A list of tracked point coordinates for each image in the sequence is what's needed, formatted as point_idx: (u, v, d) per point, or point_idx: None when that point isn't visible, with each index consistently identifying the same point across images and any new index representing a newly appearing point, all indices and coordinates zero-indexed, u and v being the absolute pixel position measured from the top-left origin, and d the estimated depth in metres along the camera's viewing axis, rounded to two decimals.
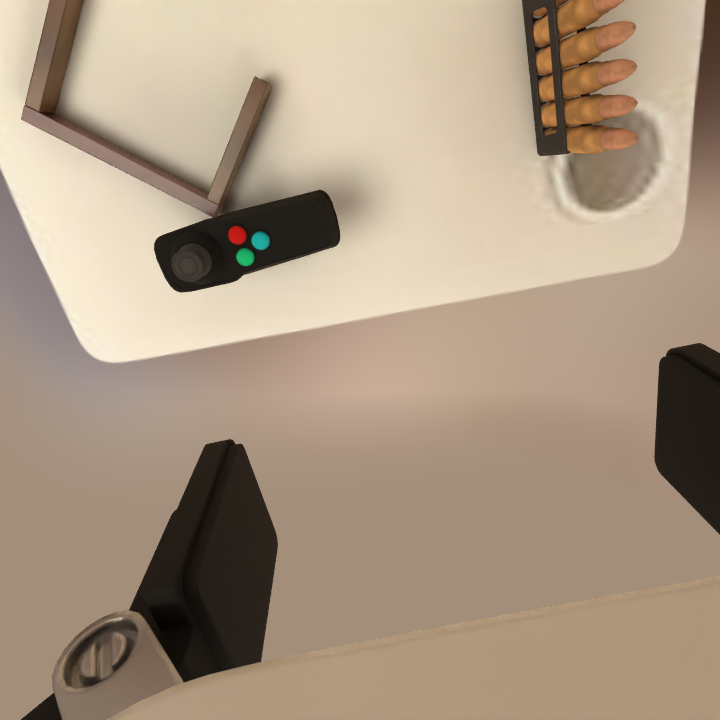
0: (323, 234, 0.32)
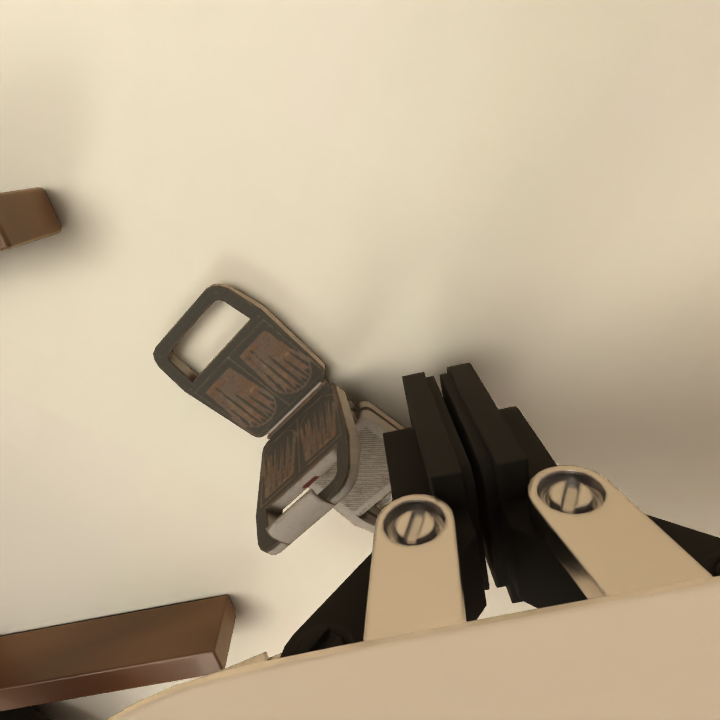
0: None
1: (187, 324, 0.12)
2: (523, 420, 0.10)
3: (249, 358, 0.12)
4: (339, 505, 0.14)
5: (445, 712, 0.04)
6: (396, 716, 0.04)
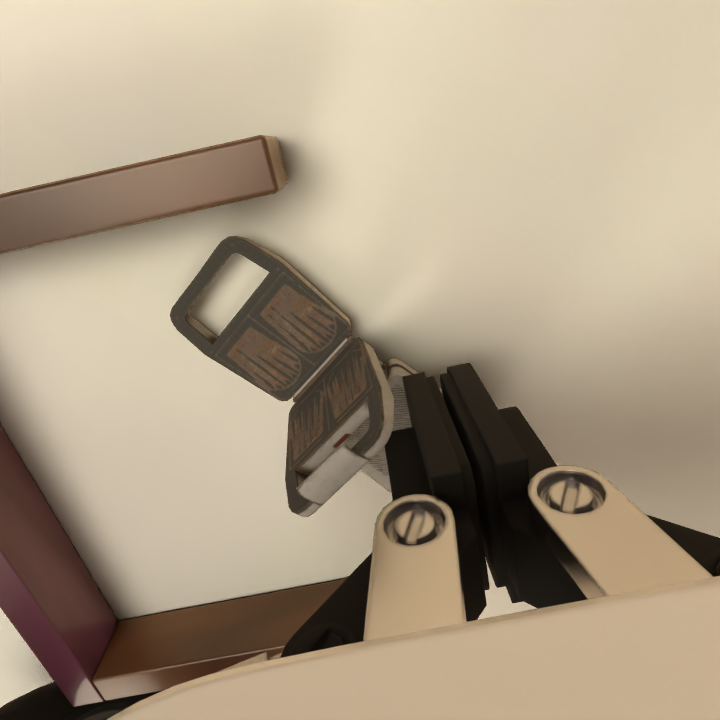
0: None
1: (203, 281, 0.11)
2: (524, 420, 0.10)
3: (270, 315, 0.11)
4: (371, 470, 0.13)
5: (445, 712, 0.04)
6: (396, 716, 0.04)
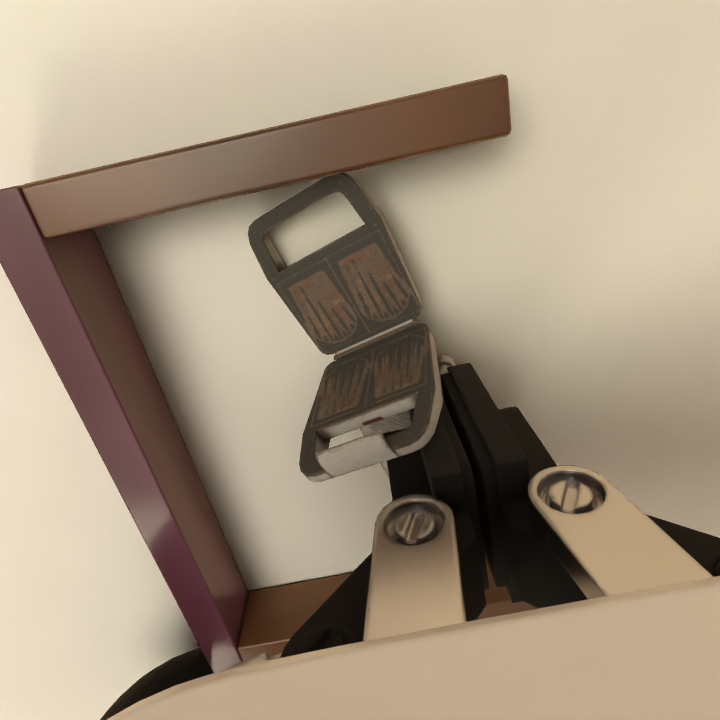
0: None
1: (295, 207, 0.10)
2: (524, 420, 0.10)
3: (347, 267, 0.11)
4: None
5: (445, 712, 0.04)
6: (396, 716, 0.04)
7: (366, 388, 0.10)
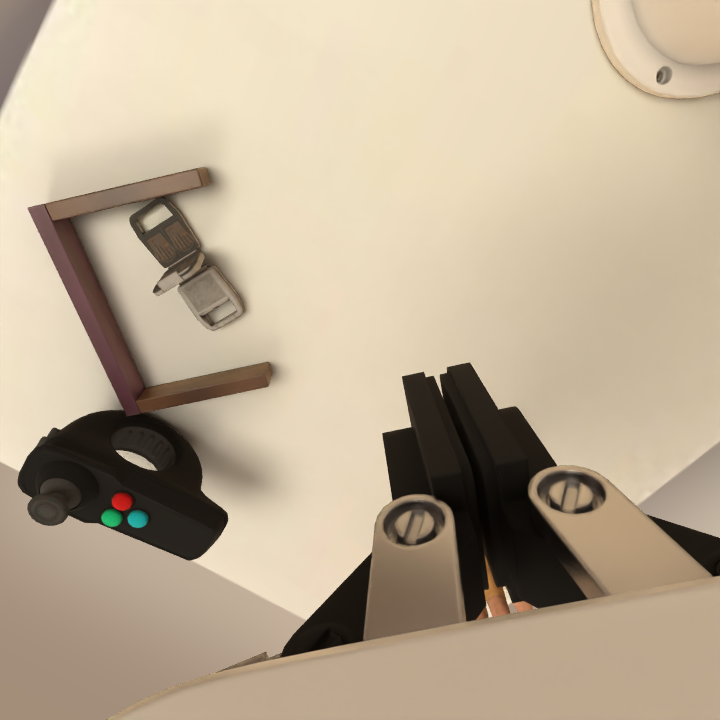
0: (193, 551, 0.31)
1: (147, 209, 0.29)
2: (524, 420, 0.10)
3: (168, 231, 0.30)
4: (192, 307, 0.31)
5: (445, 712, 0.04)
6: (396, 716, 0.04)
7: (177, 270, 0.29)
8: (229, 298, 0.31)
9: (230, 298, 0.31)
